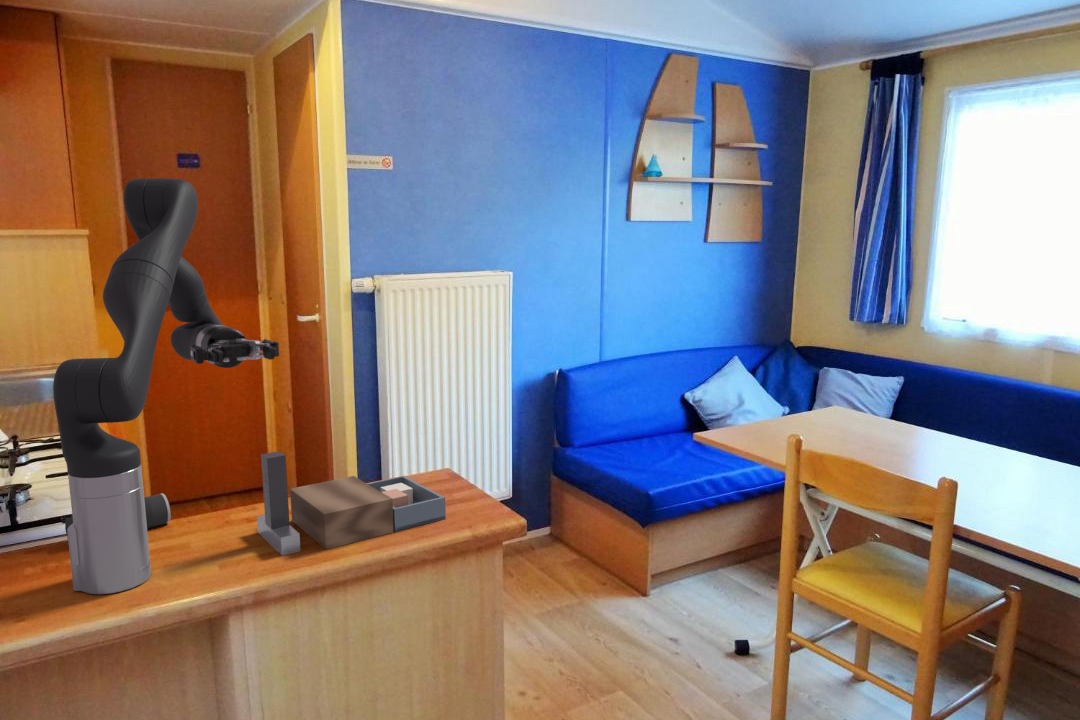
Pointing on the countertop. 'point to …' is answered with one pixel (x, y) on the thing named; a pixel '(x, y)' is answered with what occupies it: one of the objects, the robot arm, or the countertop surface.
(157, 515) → the flashlight
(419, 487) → the box
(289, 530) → the dark grey tall part
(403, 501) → the pink block
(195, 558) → the countertop surface
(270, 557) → the countertop surface
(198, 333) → the robot arm
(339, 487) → the marbled brown box
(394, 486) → the white block
